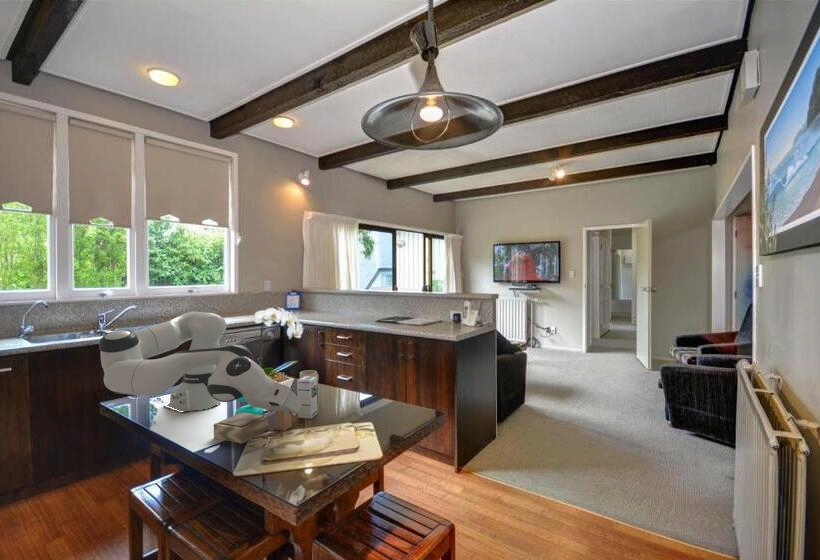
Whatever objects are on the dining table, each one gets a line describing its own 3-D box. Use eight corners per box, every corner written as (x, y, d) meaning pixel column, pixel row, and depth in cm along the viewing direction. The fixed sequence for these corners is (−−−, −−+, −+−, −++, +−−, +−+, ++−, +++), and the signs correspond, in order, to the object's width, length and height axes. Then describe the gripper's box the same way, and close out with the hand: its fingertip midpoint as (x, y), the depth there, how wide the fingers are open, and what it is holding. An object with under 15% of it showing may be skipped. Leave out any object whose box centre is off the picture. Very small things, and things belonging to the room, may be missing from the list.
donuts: (268, 388, 149) (247, 395, 140) (268, 414, 149) (247, 422, 140) (250, 385, 153) (228, 392, 144) (250, 410, 153) (229, 418, 144)
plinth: (213, 438, 126) (213, 423, 126) (241, 425, 137) (241, 411, 137) (242, 443, 122) (242, 427, 122) (268, 429, 133) (268, 415, 133)
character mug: (312, 397, 168) (312, 368, 168) (324, 400, 164) (323, 370, 164) (292, 404, 159) (292, 373, 159) (303, 408, 155) (303, 376, 155)
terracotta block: (275, 429, 133) (274, 403, 133) (282, 425, 137) (282, 400, 137) (284, 430, 132) (284, 404, 132) (291, 426, 136) (291, 401, 136)
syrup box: (311, 418, 143) (311, 380, 143) (297, 417, 144) (297, 379, 144) (318, 413, 149) (318, 376, 149) (304, 412, 150) (304, 375, 150)
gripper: (233, 397, 127) (255, 417, 136) (284, 404, 120) (303, 424, 129) (243, 380, 131) (264, 400, 140) (293, 386, 124) (311, 407, 133)
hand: (283, 412), depth 135 cm, fingers open, 8 cm apart
